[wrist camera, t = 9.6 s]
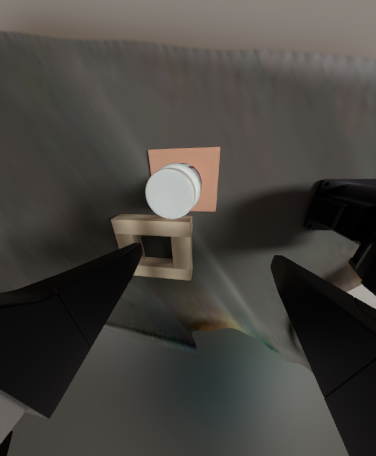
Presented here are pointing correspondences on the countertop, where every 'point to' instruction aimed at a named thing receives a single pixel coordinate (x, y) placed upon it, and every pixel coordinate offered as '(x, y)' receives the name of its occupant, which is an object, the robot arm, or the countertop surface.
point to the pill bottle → (174, 190)
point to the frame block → (158, 226)
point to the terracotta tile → (202, 160)
